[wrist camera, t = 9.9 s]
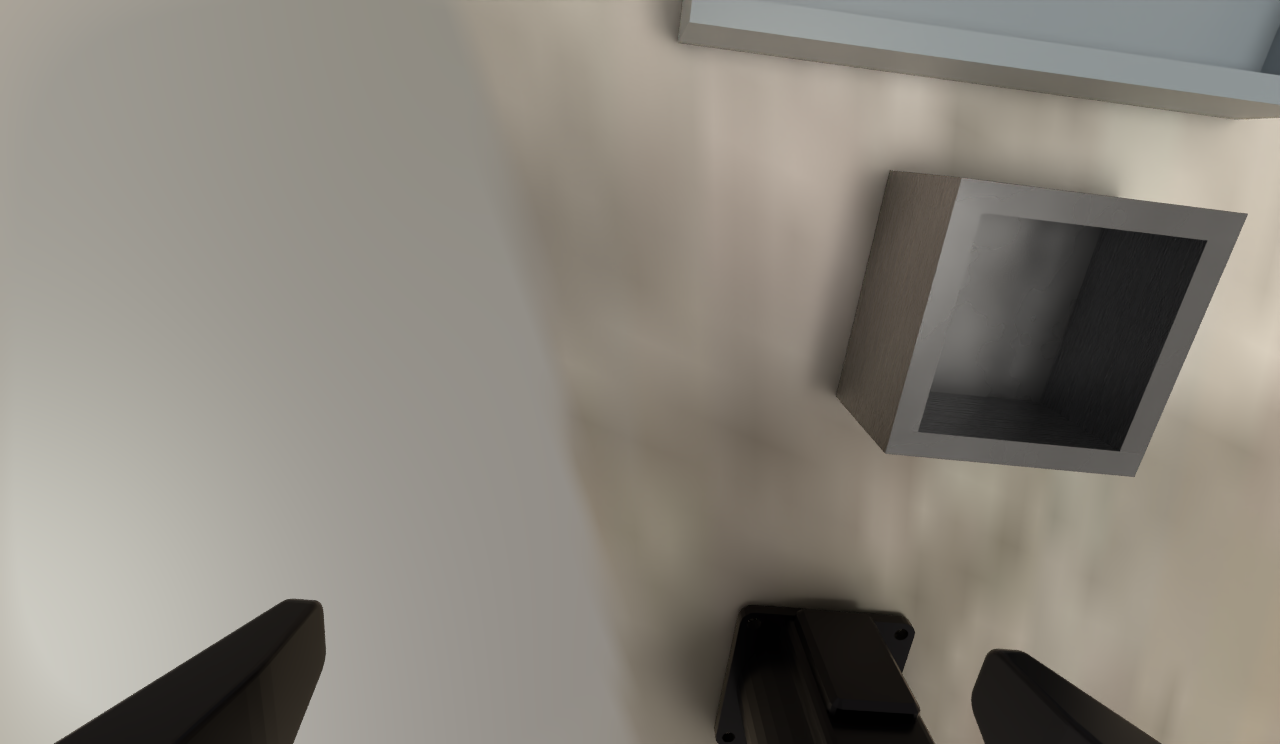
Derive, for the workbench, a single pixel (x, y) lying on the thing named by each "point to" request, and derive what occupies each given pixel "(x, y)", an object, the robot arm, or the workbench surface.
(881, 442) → the box
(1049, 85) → the tray
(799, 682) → the robot arm
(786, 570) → the workbench surface
